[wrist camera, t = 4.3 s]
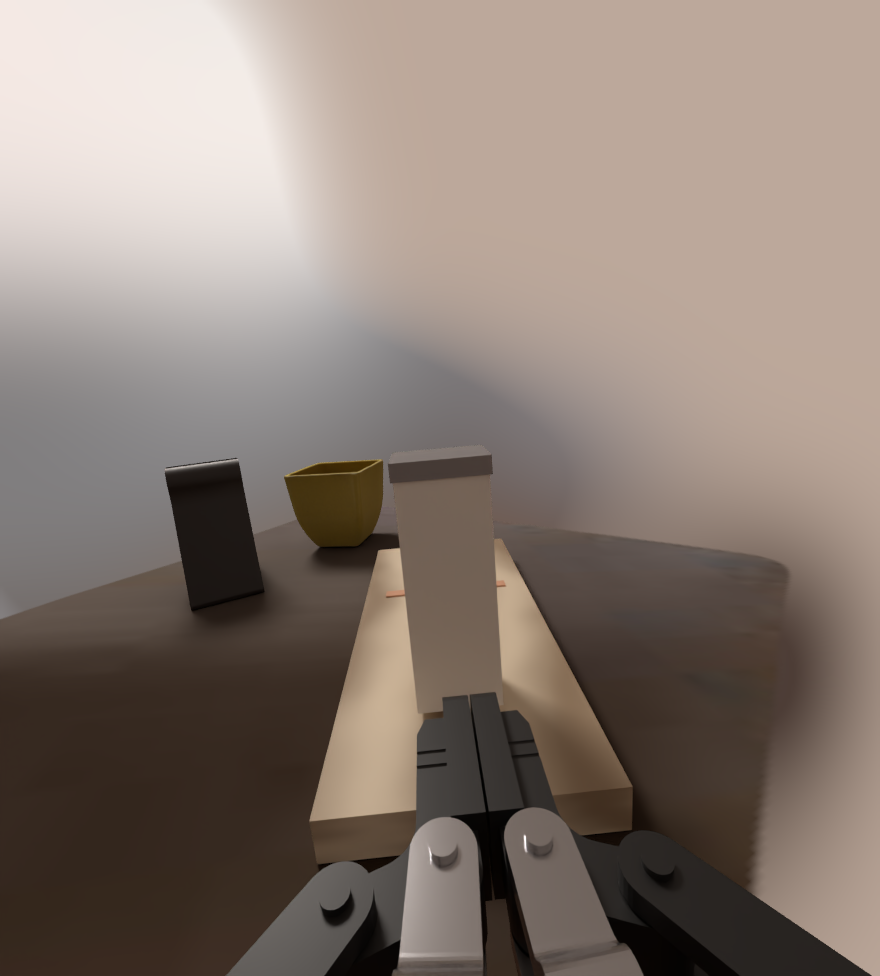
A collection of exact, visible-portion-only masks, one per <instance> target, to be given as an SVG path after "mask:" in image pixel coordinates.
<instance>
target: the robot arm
mask: <svg viewBox="0 0 880 976" xmlns="http://www.w3.org/2000/svg"><path fill="white" fill-rule="evenodd" d="M442 702H443V717H444V718H435V719H426V720H424V722H423V724H422V726H421V728H420V730H419V732H418V734H417V777H416V829H415V833H414V836H413V838H412V841H411V843H410V844H409V846H408V847H407V849H406V850H405V851H404V852H403V853H402V854H401V855H400V856H399V857H398V858H397V859H395V860H394V861H393V862H391V863H389V864H387V865H385V866H383V867H381V868H379V869H377V870H375V871H373V872H371V873H368V872H367V870H366V869H365V868H364V867H362V866H361V865H359V864H357V863H354V862H349V861H343V862H337V863H334V864H331V865H329V866H327V867H325V868H324V869H322V870H321V871H320V872H318V873H317V874H316V875H315V876H314V877H313V878H312V879H311V880H310V881H309V883H308V884H307V885H306V886H305V887H304V888H303V889H302V891H301V892H300V893H299V894H298V895H297V896H296V897H295V898H294V900H293V901H292V902H291V903H290V904H289V905H288V906H287V907H286V909H285V910H284V911H283V912H282V913H281V914H280V915H279V916H278V918H277V919H276V920H275V921H274V922H273V923H272V924H271V926H270V927H269V928H268V929H267V930H266V931H265V932H264V933H263V935H262V936H261V937H260V938H259V939H258V940H257V941H256V942H255V944H254V945H253V946H252V947H251V948H250V949H249V950H248V951H247V953H246V954H245V955H244V956H243V957H242V958H241V959H240V961H239V962H238V963H237V964H236V965H235V966H234V967H233V968H232V970H231V971H230V972H229V973H228V974H227V975H226V976H487V961H486V942H487V934H488V932H487V917H486V905H485V901H489V900H492V890H491V876H490V866H491V873H492V880H493V887H494V894H495V900H496V899H505V898H506V903H507V910H508V916H509V922H510V937H511V945H512V950H513V955H514V959H515V963H516V968H517V972H518V976H871V975H870V974H868V973H867V972H865V971H864V970H863V969H861V968H859V967H858V966H857V965H855V964H854V963H852V962H851V961H849V960H848V959H846V958H845V957H843V956H842V955H841V954H839V953H838V952H836V951H835V950H833V949H832V948H830V947H829V946H827V945H826V944H824V943H823V942H821V941H820V940H818V939H817V938H816V937H814V936H813V935H811V934H810V933H808V932H807V931H805V930H804V929H802V928H801V927H799V926H798V925H797V924H795V923H793V922H792V921H791V920H789V919H788V918H786V917H785V916H783V915H782V914H780V913H779V912H777V911H776V910H774V909H773V908H772V907H770V906H769V905H767V904H766V903H764V902H763V901H761V900H760V899H758V898H757V897H755V896H754V895H753V894H751V893H750V892H748V891H747V890H745V889H744V888H742V887H741V886H739V885H738V884H736V883H735V882H733V881H732V880H731V879H729V878H728V877H726V876H725V875H723V874H722V873H720V872H719V871H717V870H716V869H714V868H713V867H711V866H710V865H709V864H707V863H706V862H704V861H703V860H701V859H700V858H698V857H697V856H695V855H694V854H692V853H691V852H689V851H688V850H687V849H685V848H684V847H682V846H681V845H679V844H678V843H676V842H675V841H673V840H672V839H670V838H668V837H667V836H664V835H662V834H660V833H657V832H653V831H647V830H640V831H635V832H632V833H630V834H628V835H627V836H625V837H624V838H623V840H622V841H621V843H620V845H619V846H614V845H610V844H605V843H601V842H597V841H593V840H590V839H587V838H585V837H583V836H581V835H579V834H578V833H576V832H575V831H574V830H572V829H571V828H570V827H569V826H568V825H567V824H566V823H565V822H564V820H563V819H562V818H561V816H560V814H559V813H558V810H557V808H556V805H555V801H554V798H553V795H552V792H551V789H550V786H549V783H548V780H547V777H546V774H545V770H544V767H543V764H542V761H541V758H540V756H539V752H538V749H537V746H536V743H535V740H534V736H533V733H532V730H531V727H530V724H529V722H528V721H527V720H526V719H525V718H524V717H523V716H522V715H521V714H520V713H519V711H518V710H512V711H503V712H500V708H499V703H498V699H497V695H496V692H489V693H479V694H470V706H469V700H468V695H460V696H450V697H442ZM470 708H471V713H470ZM489 860H490V863H489Z"/></svg>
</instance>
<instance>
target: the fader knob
mask: <svg viewBox="0 0 880 976" xmlns="http://www.w3.org/2000/svg"><path fill="white" fill-rule="evenodd" d="M388 468H389V478H390V483H393V489H394V498H395V508H396V517H397V526H398V535H399V545H400V554H401V563H402V572H403V581H404V590H405V599H406V609H407V618H408V627H409V636H410V645H411V654H412V664H413V673H414V682H415V691H416V700H417V709H418V714H421V713H431V712H441V711H443V702H442V697H450V696H460V695H468V700H469V706H470V694H479V693H489V692H496V695H497V699H498V703H499V706H500V705H504V702H503V686H502V669H501V652H500V635H499V618H498V602H497V585H496V568H495V551H494V534H493V518H492V501H491V485H490V474H493V471H492V455H491V454H490V453H489V452H488V451H487V450H486V449H485V448H484V447H483V446H482V445H474V446H461V447H451V448H439V449H428V450H418V451H405V452H394V453H392V456H391V458H390V460H389V463H388Z"/></svg>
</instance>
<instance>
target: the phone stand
mask: <svg viewBox="0 0 880 976" xmlns="http://www.w3.org/2000/svg"><path fill="white" fill-rule="evenodd" d="M165 476H166V482H167V487H168V491H169V495H170V500H171V504H172V509H173V515H174V520H175V526H176V531H177V536H178V541H179V547H180V552H181V558H182V563H183V569H184V574H185V579H186V585H187V590H188V595H189V601H190V606H191V610H195V609H199V608H203V607H207V606H211V605H215V604H218V603H222V602H226V601H230V600H234V599H238V598H242V597H245V596H249V595H253V594H257V593H261V592H264V587H263V582H262V577H261V572H260V567H259V562H258V557H257V552H256V547H255V542H254V537H253V533H252V527H251V522H250V518H249V513H248V508H247V503H246V498H245V493H244V488H243V482H242V477H241V471H240V466H239V462H238V459H237V458H233V459H226V460H219V461H211V462H203V463H197V464H189V465H181V466H174V467H167V468H166V469H165Z"/></svg>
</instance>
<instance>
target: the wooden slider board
mask: <svg viewBox="0 0 880 976" xmlns="http://www.w3.org/2000/svg"><path fill="white" fill-rule="evenodd" d="M494 551H495V568H496V585H497V602H498V618H499V635H500V652H501V669H502V686H503V702H504V705H500V706H499V708H500V712H503V711H512V710H518V711H519V713H520V714H521V715H522V716H523V717H524V718H525V719H526V720H527V721H528V722H529V724H530V727H531V730H532V733H533V736H534V740H535V743H536V746H537V749H538V752H539V756H540V758H541V761H542V764H543V767H544V770H545V774H546V777H547V780H548V783H549V786H550V789H551V792H552V795H553V798H554V801H555V805H556V808H557V810H558V813H559V814H560V816H561V818H562V819H563V820H564V822H565V823H566V824H567V825H568V826H569V827H570V828H571V829H572V830H574V831H575V832H576V833H578V834H579V835H590V834H600V833H609V832H618V831H627V830H632V797H633V787H632V785H631V783H630V781H629V779H628V777H627V775H626V773H625V771H624V770H623V768H622V766H621V764H620V762H619V760H618V758H617V756H616V754H615V753H614V751H613V749H612V747H611V745H610V743H609V741H608V739H607V737H606V736H605V734H604V732H603V730H602V728H601V726H600V724H599V722H598V720H597V719H596V717H595V715H594V713H593V711H592V709H591V707H590V705H589V703H588V702H587V700H586V698H585V696H584V694H583V692H582V690H581V688H580V687H579V685H578V683H577V681H576V679H575V677H574V675H573V673H572V671H571V670H570V668H569V666H568V664H567V662H566V660H565V658H564V656H563V654H562V653H561V651H560V649H559V647H558V645H557V643H556V641H555V639H554V637H553V636H552V634H551V632H550V630H549V628H548V626H547V624H546V622H545V620H544V619H543V617H542V615H541V613H540V611H539V609H538V607H537V605H536V603H535V602H534V600H533V598H532V596H531V594H530V592H529V590H528V588H527V586H526V585H525V583H524V581H523V579H522V577H521V575H520V573H519V571H518V569H517V568H516V566H515V564H514V562H513V560H512V558H511V556H510V554H509V552H508V551H507V549H506V547H505V545H504V543H503V541H502V539H494ZM470 713H471V708H470ZM435 718H444V717H443V711H441V712H431V713H421V714H418V709H417V700H416V691H415V682H414V673H413V664H412V654H411V645H410V636H409V627H408V618H407V609H406V599H405V590H404V581H403V572H402V563H401V554H400V548H396V549H386V550H378V554H377V558H376V562H375V566H374V570H373V574H372V578H371V582H370V586H369V590H368V594H367V598H366V601H365V605H364V609H363V613H362V617H361V621H360V625H359V629H358V633H357V637H356V641H355V645H354V649H353V652H352V656H351V660H350V664H349V668H348V672H347V676H346V680H345V684H344V688H343V692H342V696H341V700H340V703H339V707H338V711H337V715H336V719H335V723H334V727H333V731H332V735H331V739H330V743H329V747H328V751H327V754H326V758H325V762H324V766H323V770H322V774H321V778H320V782H319V786H318V790H317V794H316V798H315V802H314V805H313V809H312V813H311V817H310V821H309V822H310V827H311V833H312V838H313V844H314V849H315V855H316V860H317V864H325V863H334V862H343V861H352V860H362V859H371V858H380V857H389V856H398V855H401V854H402V853H403V852H404V851H405V850H406V849H407V847H408V846H409V844H410V843H411V841H412V838H413V836H414V833H415V829H416V777H417V734H418V732H419V730H420V728H421V726H422V724H423V722H424V720H426V719H435Z"/></svg>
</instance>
